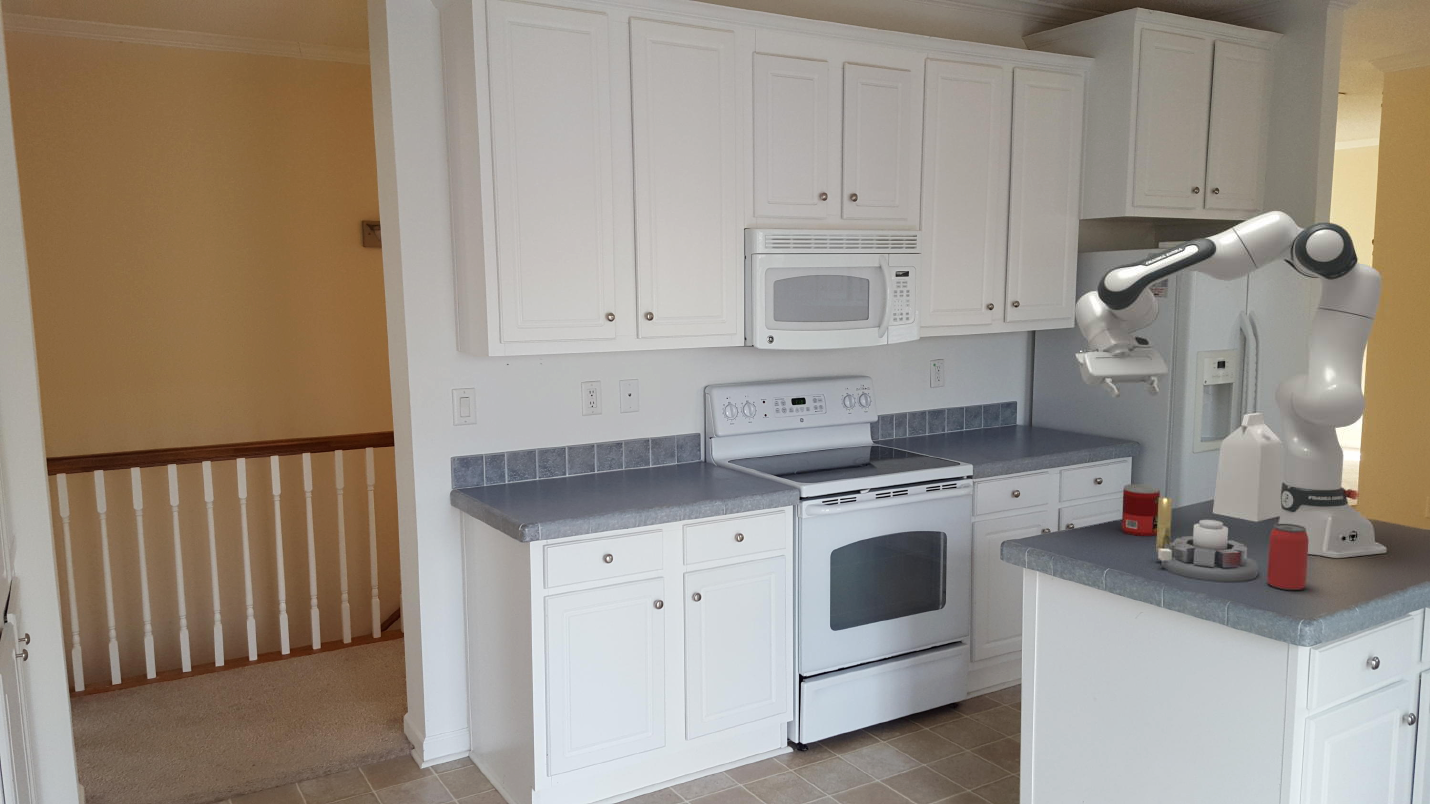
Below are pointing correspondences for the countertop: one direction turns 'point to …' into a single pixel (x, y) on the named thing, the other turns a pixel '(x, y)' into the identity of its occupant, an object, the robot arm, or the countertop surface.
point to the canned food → (1140, 509)
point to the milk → (1250, 472)
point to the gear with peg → (1184, 545)
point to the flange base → (1213, 571)
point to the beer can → (1288, 557)
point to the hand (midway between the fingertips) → (1136, 395)
